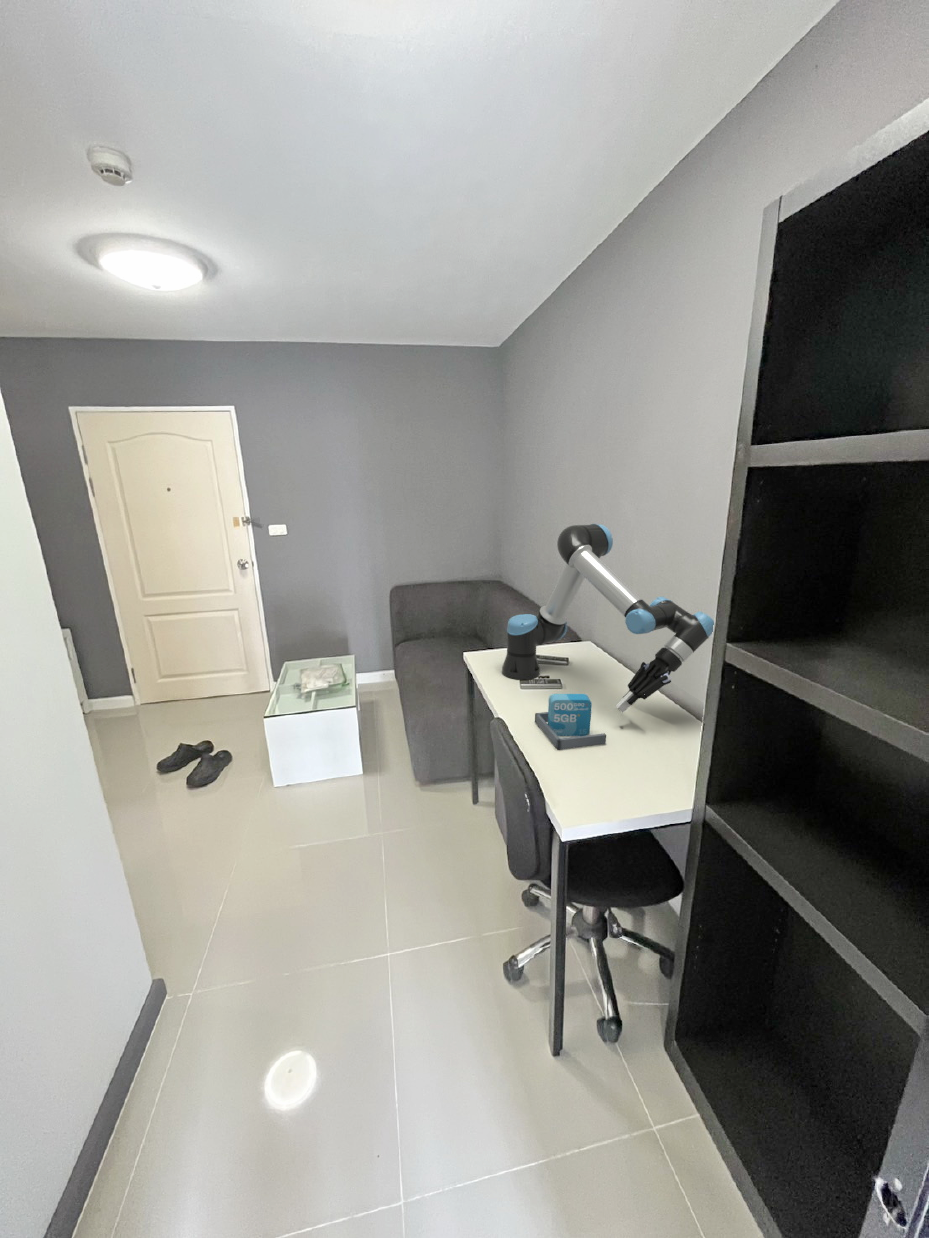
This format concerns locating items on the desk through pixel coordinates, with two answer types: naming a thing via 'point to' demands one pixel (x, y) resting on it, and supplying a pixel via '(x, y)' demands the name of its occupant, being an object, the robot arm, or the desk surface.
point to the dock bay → (567, 742)
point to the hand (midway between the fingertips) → (619, 709)
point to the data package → (569, 714)
